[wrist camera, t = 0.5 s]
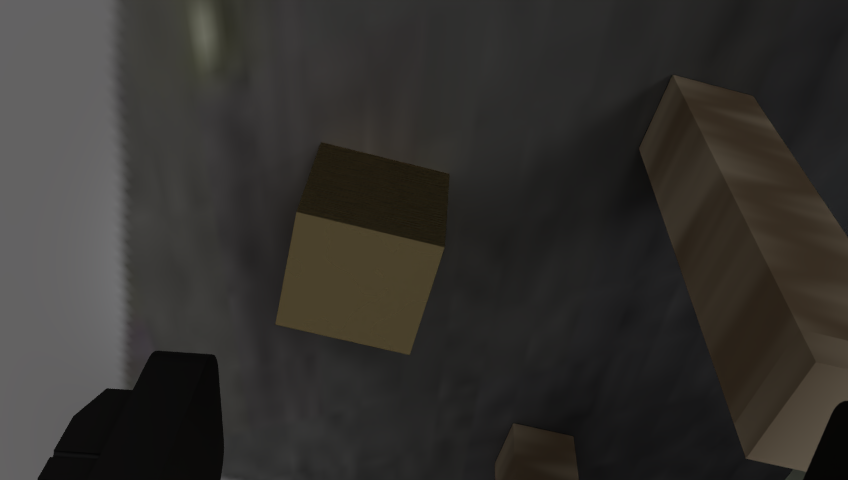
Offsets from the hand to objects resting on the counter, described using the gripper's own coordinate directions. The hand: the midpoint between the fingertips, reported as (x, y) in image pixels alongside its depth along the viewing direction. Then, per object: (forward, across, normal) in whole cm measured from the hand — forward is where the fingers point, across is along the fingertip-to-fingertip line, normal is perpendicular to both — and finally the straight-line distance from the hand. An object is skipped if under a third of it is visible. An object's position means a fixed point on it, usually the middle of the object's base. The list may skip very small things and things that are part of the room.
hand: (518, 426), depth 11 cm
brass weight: (+20, +3, +8) cm, 22 cm away
